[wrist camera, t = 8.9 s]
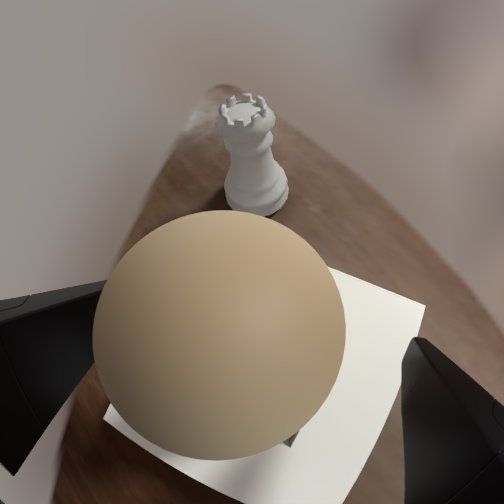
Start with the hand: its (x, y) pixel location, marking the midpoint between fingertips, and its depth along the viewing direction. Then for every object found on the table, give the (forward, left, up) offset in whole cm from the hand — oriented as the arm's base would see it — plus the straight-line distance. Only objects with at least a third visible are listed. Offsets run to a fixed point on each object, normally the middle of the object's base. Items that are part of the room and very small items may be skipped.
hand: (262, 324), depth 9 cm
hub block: (-1, 0, -9) cm, 9 cm away
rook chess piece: (+10, +6, -9) cm, 15 cm away
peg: (-1, 0, -8) cm, 8 cm away
